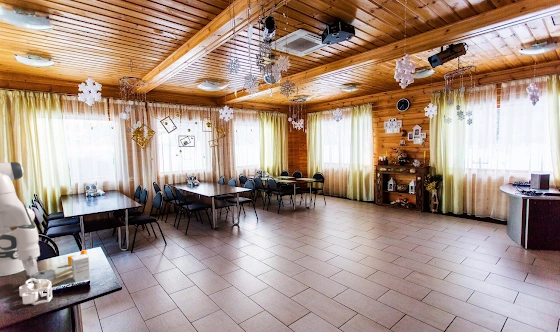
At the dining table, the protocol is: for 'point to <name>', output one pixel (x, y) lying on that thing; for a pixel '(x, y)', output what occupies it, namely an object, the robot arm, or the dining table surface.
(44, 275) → the wooden rectangular frame
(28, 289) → the car outline toy
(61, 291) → the dining table surface
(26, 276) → the stepped grey block
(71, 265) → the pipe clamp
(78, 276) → the supplement box
